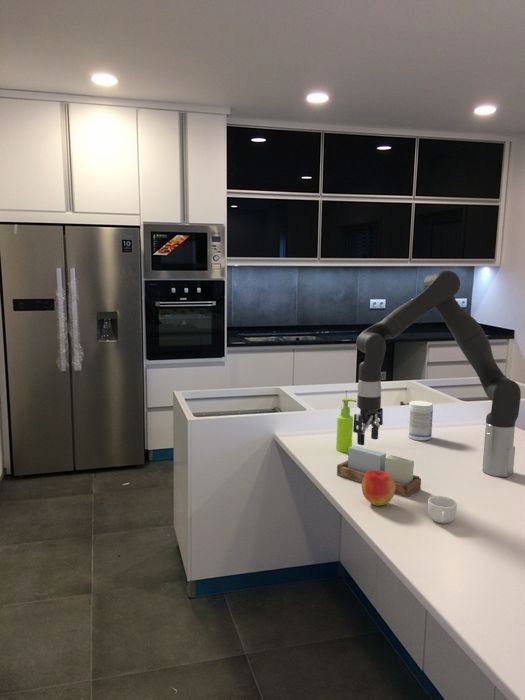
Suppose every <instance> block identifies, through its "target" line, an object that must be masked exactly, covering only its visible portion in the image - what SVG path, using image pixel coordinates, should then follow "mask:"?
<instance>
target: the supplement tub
mask: <svg viewBox="0 0 525 700" xmlns="http://www.w3.org/2000/svg"><path fill="white" fill-rule="evenodd" d="M433 413H434V407H433V403H432V402H429V401H425V400H411V401H409V405H408V415H407V416H408V417H407V418H408V420H407V437H408V438H409V439H411V440H414V441H419V442H420V441H429V440H431V439H432V435H433V432H432V431H433Z"/></svg>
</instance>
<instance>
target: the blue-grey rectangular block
mask: <svg viewBox="0 0 525 700" xmlns="http://www.w3.org/2000/svg"><path fill="white" fill-rule="evenodd" d="M347 453H348V454H347V455H348V456H347V460H348V468H350V469H353V470H356V471H360V472H363V473H367V472H368V471H369V470H378V471H384V472H385V458H386V457H387V453H386V452H381V451H377V450H374V449H369V448H366V447H363V446H362V447H361V446H360V445H359V446H357V445H355V444H354V445H352V447H349V451H348V452H347Z"/></svg>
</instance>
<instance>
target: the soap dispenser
mask: <svg viewBox="0 0 525 700" xmlns="http://www.w3.org/2000/svg"><path fill="white" fill-rule="evenodd" d="M341 401H342V402H343V406H342V407H341V408H340V415H337V418H336V419H337V420H336V422H337V423H336V444H335V445H336V448H335V451H337V452H339V453H348V451H349V447H352V446H353V426H354V416H353V415H350V414H351V408H350V407H349V402H353V403H357V399H354V398H341Z"/></svg>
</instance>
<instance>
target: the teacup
mask: <svg viewBox="0 0 525 700" xmlns="http://www.w3.org/2000/svg"><path fill="white" fill-rule="evenodd" d="M427 513H428V516H429V518H430V519H431V520H432V521H433V522H435V523H439V524H448V523H451V522H452V521H453V520H454V519H455V517H456V513H457V502H456V500H454V499H452V498H450V497H447V496H443V495H442V496H440V495H436V496H431V497H429V498H428V500H427Z"/></svg>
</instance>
